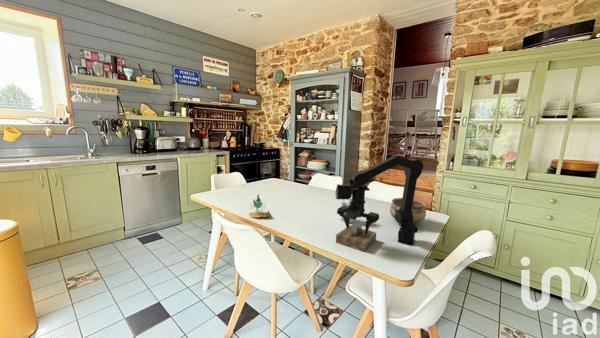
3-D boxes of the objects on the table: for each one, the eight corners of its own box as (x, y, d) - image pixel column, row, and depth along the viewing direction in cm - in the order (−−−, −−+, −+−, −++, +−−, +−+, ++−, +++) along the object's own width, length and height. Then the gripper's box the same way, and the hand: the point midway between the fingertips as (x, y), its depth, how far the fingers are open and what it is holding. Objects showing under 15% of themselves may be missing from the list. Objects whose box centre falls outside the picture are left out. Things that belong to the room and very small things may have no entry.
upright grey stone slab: (361, 238, 116) (362, 222, 114) (356, 242, 111) (356, 226, 110) (356, 236, 117) (357, 221, 116) (351, 241, 112) (351, 225, 111)
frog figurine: (264, 222, 137) (261, 197, 135) (243, 218, 148) (241, 195, 146) (275, 217, 145) (273, 193, 143) (255, 214, 155) (252, 191, 154)
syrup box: (340, 220, 140) (341, 196, 138) (346, 218, 144) (347, 195, 141) (348, 223, 136) (349, 199, 133) (354, 221, 139) (355, 197, 137)
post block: (375, 240, 115) (376, 232, 115) (364, 251, 105) (364, 243, 104) (349, 232, 124) (349, 225, 123) (335, 242, 113) (336, 234, 112)
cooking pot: (418, 234, 122) (421, 211, 120) (382, 225, 134) (383, 204, 132) (429, 220, 141) (431, 200, 139) (396, 213, 153) (397, 194, 151)
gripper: (331, 199, 110) (330, 231, 113) (371, 207, 99) (369, 243, 101) (343, 194, 119) (342, 224, 121) (380, 201, 108) (378, 234, 110)
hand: (356, 231), depth 113 cm, fingers open, 9 cm apart
